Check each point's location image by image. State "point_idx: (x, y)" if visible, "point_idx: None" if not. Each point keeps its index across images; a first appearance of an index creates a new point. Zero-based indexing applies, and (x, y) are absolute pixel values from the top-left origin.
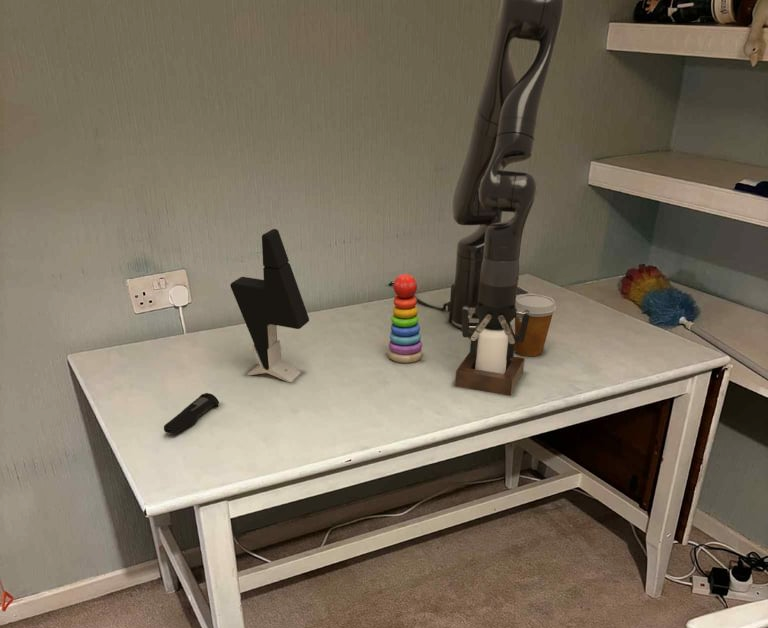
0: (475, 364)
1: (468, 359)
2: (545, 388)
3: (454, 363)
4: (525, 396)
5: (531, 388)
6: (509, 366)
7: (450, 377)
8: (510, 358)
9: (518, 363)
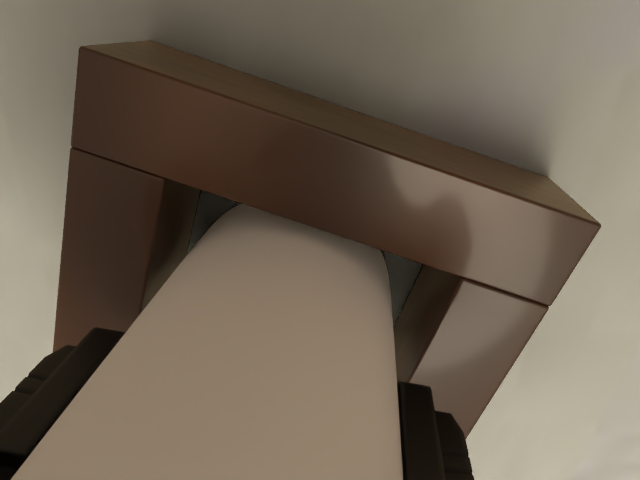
0: (169, 240)
1: (92, 268)
2: (628, 386)
3: (29, 21)
4: (474, 462)
5: (538, 385)
6: (416, 379)
7: (55, 259)
8: (455, 239)
9: (504, 333)
